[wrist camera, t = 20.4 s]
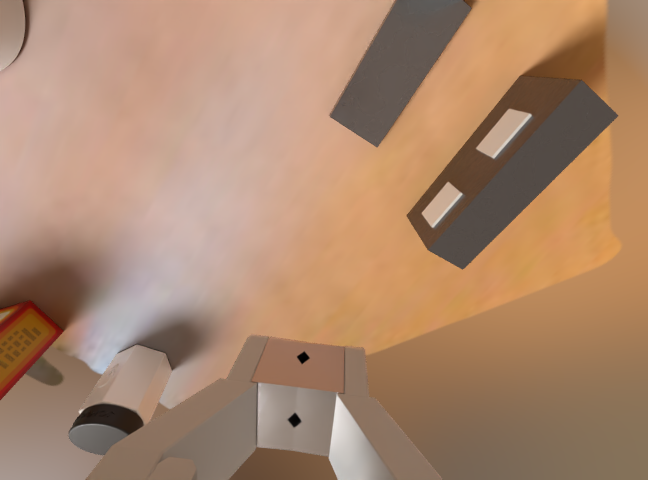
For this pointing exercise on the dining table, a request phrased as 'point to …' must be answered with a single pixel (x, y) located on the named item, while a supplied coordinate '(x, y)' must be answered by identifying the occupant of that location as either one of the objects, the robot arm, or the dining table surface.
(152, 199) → the dining table surface
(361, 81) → the rail
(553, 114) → the block
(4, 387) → the baking soda box
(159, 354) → the jar
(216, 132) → the dining table surface
